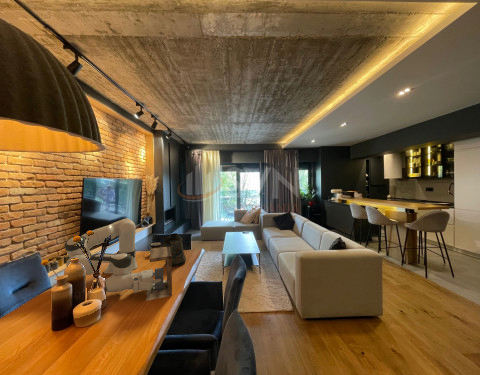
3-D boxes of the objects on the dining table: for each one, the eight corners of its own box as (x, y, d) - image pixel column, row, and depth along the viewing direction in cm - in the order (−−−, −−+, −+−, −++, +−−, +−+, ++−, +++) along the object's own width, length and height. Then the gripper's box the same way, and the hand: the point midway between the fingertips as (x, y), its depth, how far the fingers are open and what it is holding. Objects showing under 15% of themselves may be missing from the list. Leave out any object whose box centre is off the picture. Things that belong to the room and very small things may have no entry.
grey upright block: (154, 291, 123) (154, 271, 123) (154, 287, 128) (154, 268, 128) (163, 289, 125) (163, 270, 125) (163, 285, 130) (163, 267, 130)
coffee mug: (163, 253, 194) (162, 243, 194) (155, 256, 186) (155, 245, 186) (154, 251, 199) (154, 241, 199) (146, 254, 191) (146, 244, 191)
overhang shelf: (146, 300, 115) (145, 259, 114) (147, 284, 133) (147, 248, 133) (172, 295, 120) (171, 255, 120) (170, 280, 139) (169, 246, 138)
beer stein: (189, 260, 176) (189, 232, 176) (177, 269, 157) (176, 237, 157) (172, 258, 180) (172, 231, 180) (158, 267, 161) (158, 236, 161)
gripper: (137, 278, 131) (160, 274, 137) (134, 294, 112) (160, 289, 118) (137, 268, 131) (160, 265, 137) (134, 282, 112) (160, 278, 118)
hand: (160, 276), depth 127 cm, fingers open, 8 cm apart
